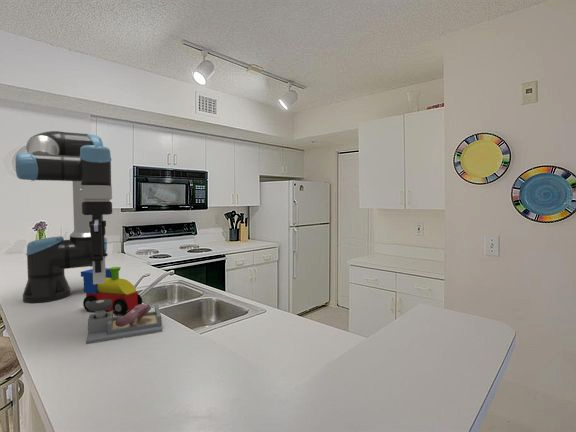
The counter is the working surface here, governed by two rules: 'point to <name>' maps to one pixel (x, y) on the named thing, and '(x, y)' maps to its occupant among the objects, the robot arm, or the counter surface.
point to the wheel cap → (100, 306)
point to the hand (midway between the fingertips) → (99, 281)
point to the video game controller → (133, 315)
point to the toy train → (111, 291)
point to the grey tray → (108, 330)
